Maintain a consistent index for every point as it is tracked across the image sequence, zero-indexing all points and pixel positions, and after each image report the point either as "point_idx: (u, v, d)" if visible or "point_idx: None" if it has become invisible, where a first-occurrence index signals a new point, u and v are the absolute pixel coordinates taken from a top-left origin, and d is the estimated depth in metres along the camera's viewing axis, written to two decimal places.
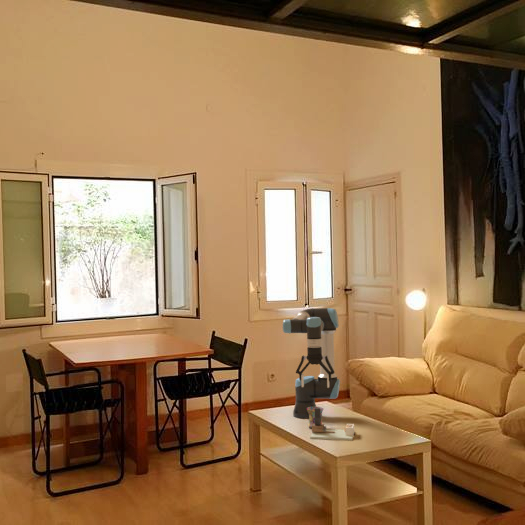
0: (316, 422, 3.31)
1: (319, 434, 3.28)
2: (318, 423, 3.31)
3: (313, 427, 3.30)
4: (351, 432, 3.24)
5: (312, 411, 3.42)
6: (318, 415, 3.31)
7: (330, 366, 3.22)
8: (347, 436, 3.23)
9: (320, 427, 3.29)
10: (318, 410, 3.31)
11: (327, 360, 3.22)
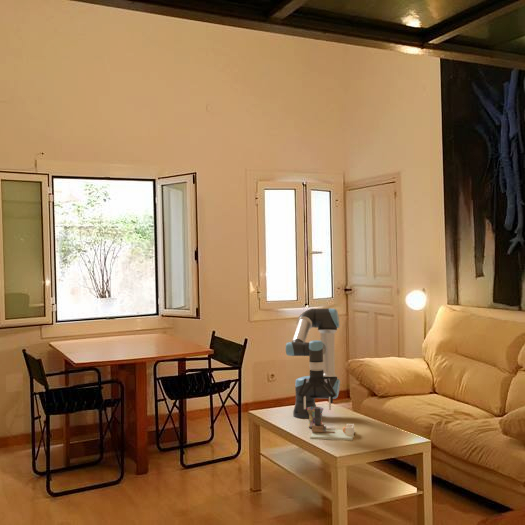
0: (316, 422, 3.31)
1: (319, 434, 3.28)
2: (318, 423, 3.31)
3: (313, 427, 3.30)
4: (351, 432, 3.24)
5: (312, 411, 3.42)
6: (318, 415, 3.31)
7: (332, 389, 3.29)
8: (347, 436, 3.23)
9: (320, 427, 3.29)
10: (318, 410, 3.31)
11: (329, 383, 3.30)
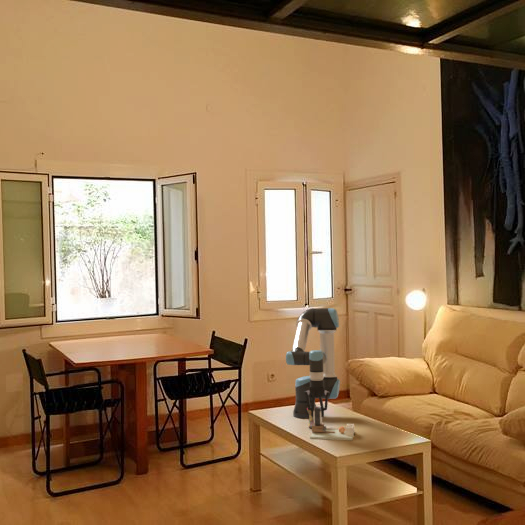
0: (316, 422, 3.31)
1: (319, 434, 3.28)
2: (318, 423, 3.31)
3: (313, 427, 3.30)
4: (351, 432, 3.24)
5: None
6: (318, 415, 3.31)
7: (326, 402, 3.30)
8: (347, 436, 3.23)
9: (320, 427, 3.29)
10: (318, 410, 3.31)
11: (327, 396, 3.30)
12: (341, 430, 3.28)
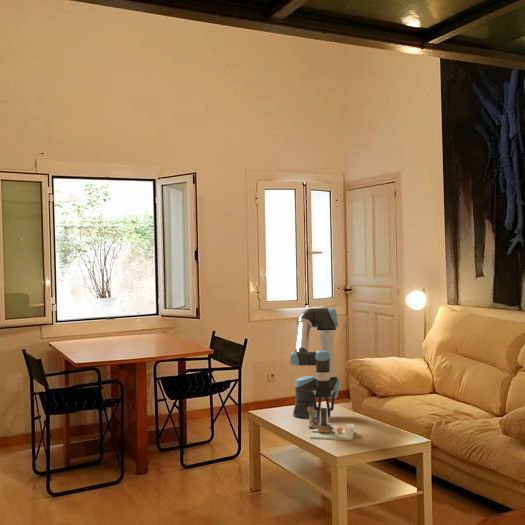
0: (322, 422, 3.30)
1: (319, 434, 3.28)
2: (324, 423, 3.30)
3: (319, 427, 3.29)
4: (351, 432, 3.24)
5: (312, 411, 3.42)
6: (324, 415, 3.30)
7: (333, 403, 3.29)
8: (347, 436, 3.23)
9: (326, 427, 3.29)
10: (324, 410, 3.30)
11: (333, 396, 3.29)
12: (338, 430, 3.28)
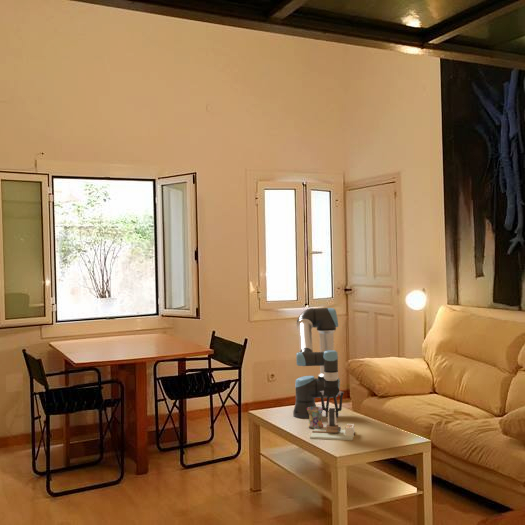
0: (330, 422, 3.29)
1: (319, 434, 3.28)
2: (332, 423, 3.29)
3: (327, 427, 3.28)
4: (351, 432, 3.24)
5: (312, 411, 3.42)
6: (332, 415, 3.29)
7: (341, 403, 3.28)
8: (347, 436, 3.23)
9: (335, 428, 3.28)
10: (332, 410, 3.29)
11: (341, 396, 3.28)
12: None
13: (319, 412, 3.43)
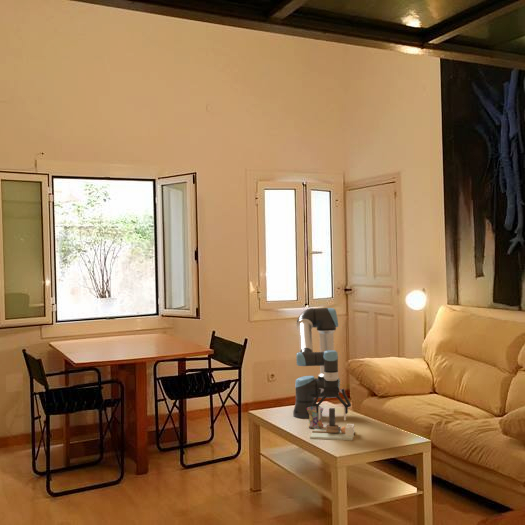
0: (330, 422, 3.29)
1: (319, 434, 3.28)
2: (333, 423, 3.29)
3: (328, 428, 3.28)
4: (351, 432, 3.24)
5: (312, 411, 3.42)
6: (333, 415, 3.29)
7: (347, 399, 3.28)
8: (347, 436, 3.23)
9: (335, 428, 3.28)
10: (333, 410, 3.29)
11: (344, 393, 3.28)
12: (343, 430, 3.28)
13: None
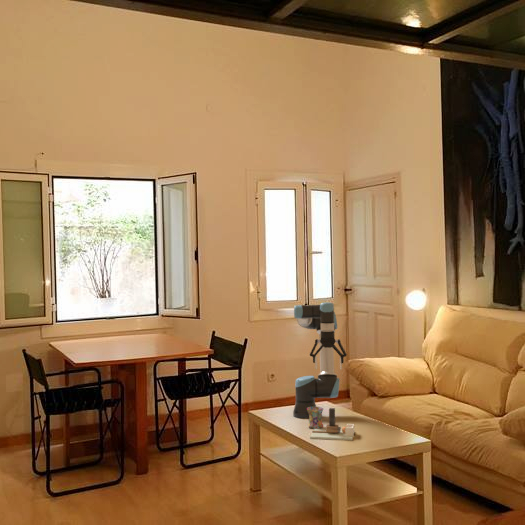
0: (330, 422, 3.29)
1: (319, 434, 3.28)
2: (333, 423, 3.29)
3: (328, 428, 3.28)
4: (351, 432, 3.24)
5: (312, 411, 3.42)
6: (333, 415, 3.29)
7: (342, 349, 3.37)
8: (347, 436, 3.23)
9: (335, 428, 3.28)
10: (333, 410, 3.29)
11: (340, 343, 3.37)
12: None
13: (319, 412, 3.43)
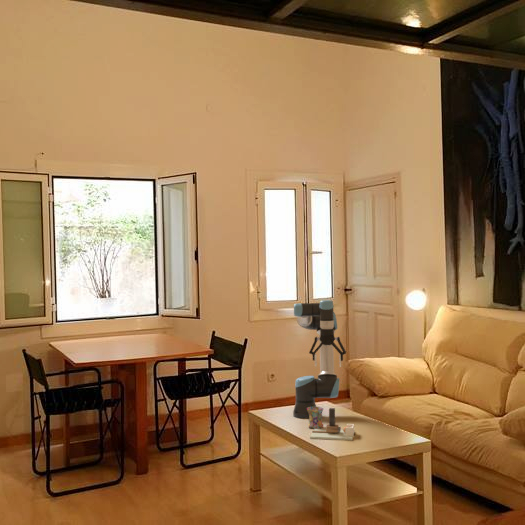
0: (330, 422, 3.29)
1: (319, 434, 3.28)
2: (333, 423, 3.29)
3: (328, 428, 3.28)
4: (351, 432, 3.24)
5: (312, 411, 3.42)
6: (333, 415, 3.29)
7: (342, 346, 3.38)
8: (347, 436, 3.23)
9: (335, 428, 3.28)
10: (333, 410, 3.29)
11: (339, 341, 3.38)
12: None
13: (319, 412, 3.43)
